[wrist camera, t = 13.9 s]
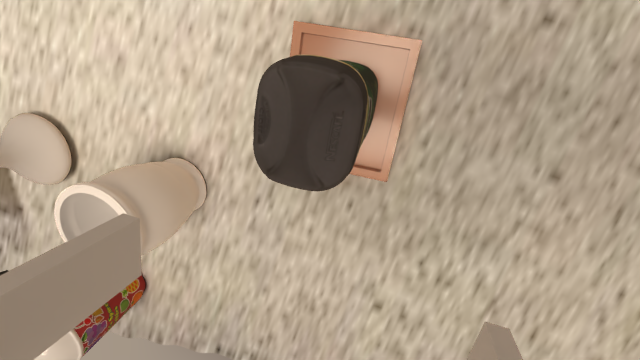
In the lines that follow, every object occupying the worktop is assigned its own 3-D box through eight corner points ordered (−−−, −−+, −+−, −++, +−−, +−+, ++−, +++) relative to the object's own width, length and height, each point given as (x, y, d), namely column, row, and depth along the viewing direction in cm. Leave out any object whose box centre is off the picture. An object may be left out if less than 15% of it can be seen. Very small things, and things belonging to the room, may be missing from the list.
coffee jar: (316, 55, 36) (248, 39, 19) (384, 67, 35) (377, 61, 18) (304, 136, 40) (237, 185, 22) (366, 149, 38) (345, 212, 21)
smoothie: (150, 306, 57) (34, 418, 38) (110, 289, 58) (-22, 390, 39) (154, 270, 54) (30, 373, 35) (112, 252, 55) (-31, 344, 36)
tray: (420, 41, 34) (422, 40, 32) (387, 177, 40) (386, 182, 38) (298, 23, 36) (294, 20, 35) (282, 154, 42) (278, 158, 40)
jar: (226, 205, 46) (155, 261, 33) (174, 224, 50) (89, 283, 36) (191, 139, 44) (99, 170, 30) (139, 164, 47) (35, 202, 34)
